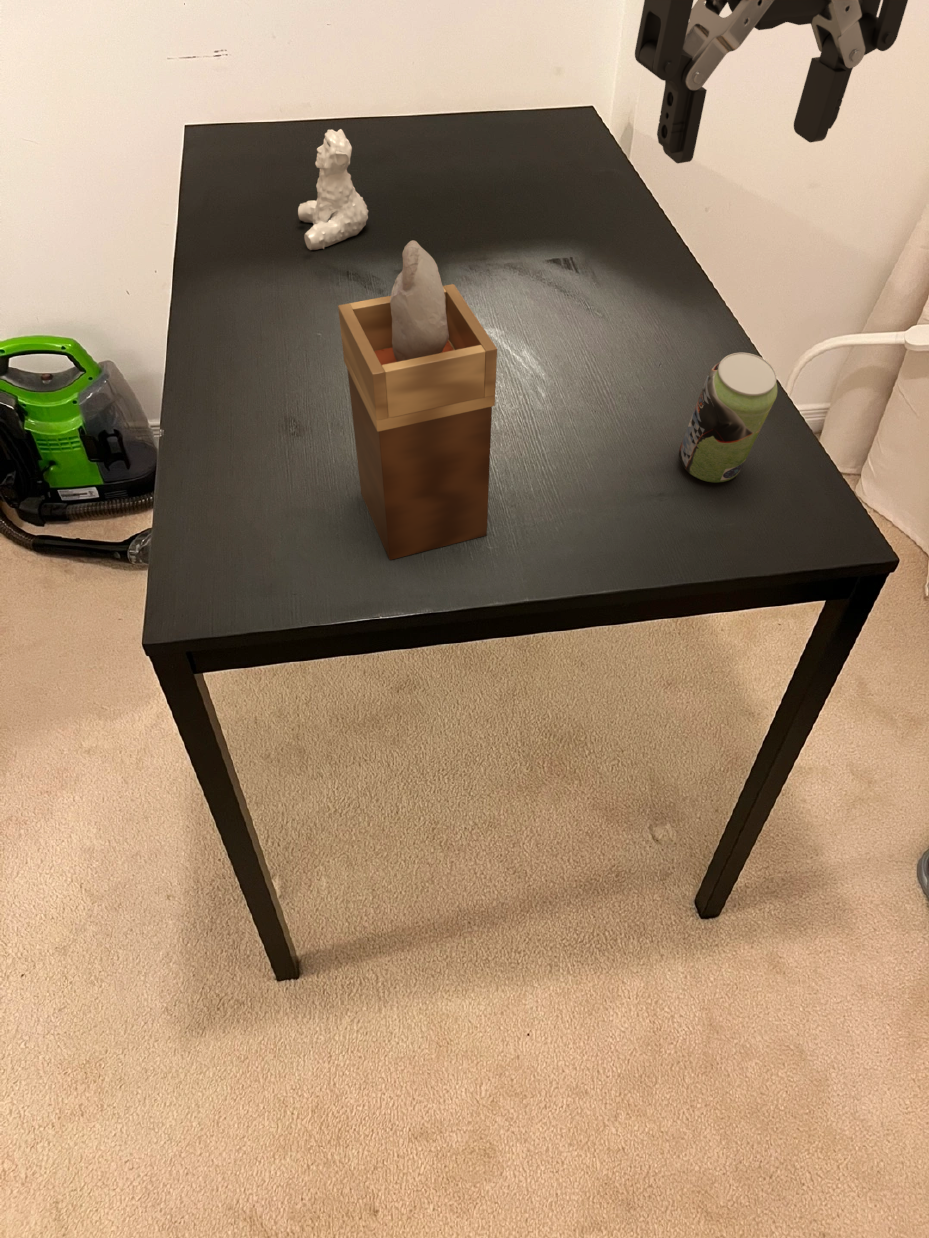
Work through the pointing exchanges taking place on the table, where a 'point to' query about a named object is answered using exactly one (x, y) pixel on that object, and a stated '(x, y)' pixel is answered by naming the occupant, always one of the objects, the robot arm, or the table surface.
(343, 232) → the white creature statuette
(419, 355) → the fossil
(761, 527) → the table surface
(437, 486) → the plinth
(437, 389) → the open wooden box
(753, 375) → the beverage can
